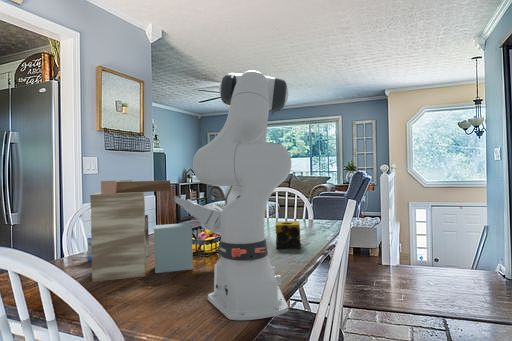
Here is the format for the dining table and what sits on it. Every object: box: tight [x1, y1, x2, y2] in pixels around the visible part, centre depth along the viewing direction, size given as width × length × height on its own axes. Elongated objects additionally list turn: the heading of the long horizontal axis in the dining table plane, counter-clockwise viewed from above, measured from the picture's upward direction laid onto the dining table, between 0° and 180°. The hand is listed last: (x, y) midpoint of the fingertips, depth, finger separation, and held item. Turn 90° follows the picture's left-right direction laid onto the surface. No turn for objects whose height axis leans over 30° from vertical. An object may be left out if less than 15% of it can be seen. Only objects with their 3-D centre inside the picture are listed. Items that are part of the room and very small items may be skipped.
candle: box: [275, 220, 301, 250], centre depth 146 cm, size 10×10×10 cm
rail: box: [117, 179, 171, 193], centre depth 114 cm, size 3×19×4 cm, turn 106°
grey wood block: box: [89, 192, 147, 283], centre depth 112 cm, size 13×15×26 cm
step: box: [153, 222, 194, 274], centre depth 116 cm, size 8×12×14 cm, turn 106°
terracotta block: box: [100, 180, 118, 194], centre depth 107 cm, size 4×4×4 cm
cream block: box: [117, 179, 133, 182], centre depth 116 cm, size 4×4×4 cm
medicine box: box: [86, 236, 92, 262], centre depth 130 cm, size 8×4×9 cm, turn 62°
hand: (175, 198), depth 117 cm, fingers open, 8 cm apart
